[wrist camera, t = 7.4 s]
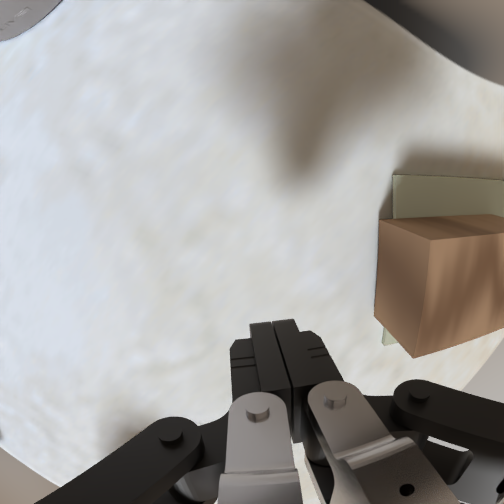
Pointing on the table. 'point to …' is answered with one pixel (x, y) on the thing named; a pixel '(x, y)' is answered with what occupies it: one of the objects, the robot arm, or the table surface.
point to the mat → (444, 201)
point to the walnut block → (440, 280)
